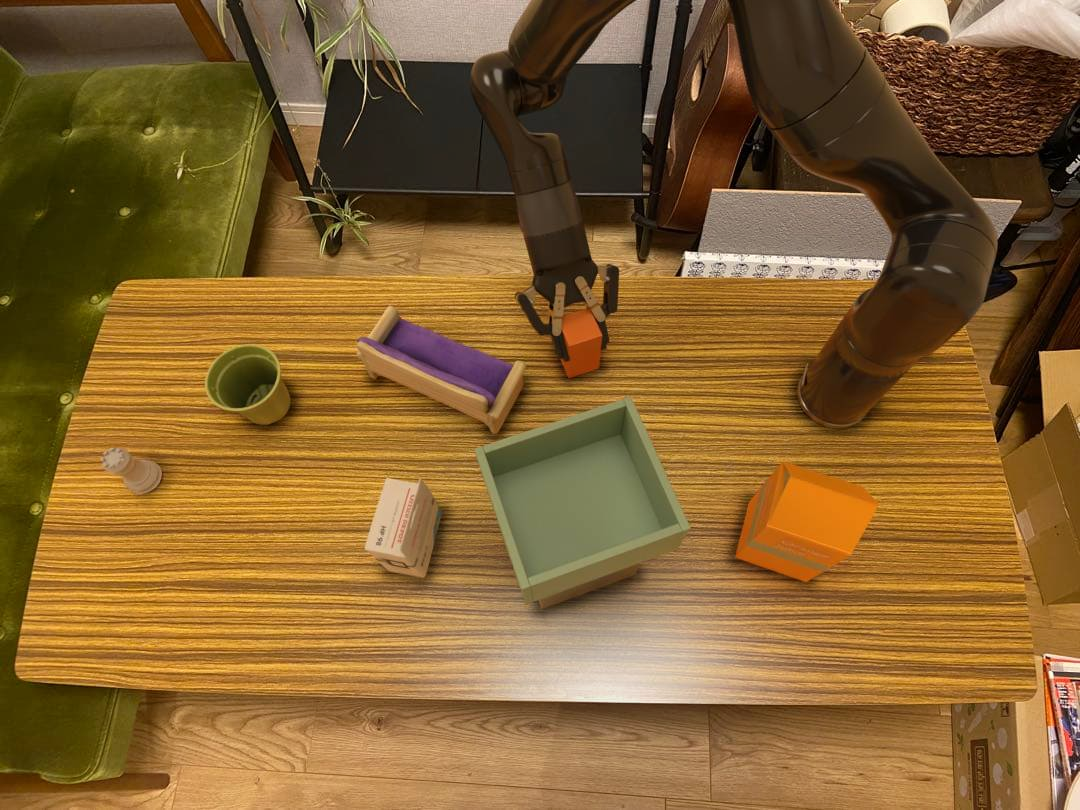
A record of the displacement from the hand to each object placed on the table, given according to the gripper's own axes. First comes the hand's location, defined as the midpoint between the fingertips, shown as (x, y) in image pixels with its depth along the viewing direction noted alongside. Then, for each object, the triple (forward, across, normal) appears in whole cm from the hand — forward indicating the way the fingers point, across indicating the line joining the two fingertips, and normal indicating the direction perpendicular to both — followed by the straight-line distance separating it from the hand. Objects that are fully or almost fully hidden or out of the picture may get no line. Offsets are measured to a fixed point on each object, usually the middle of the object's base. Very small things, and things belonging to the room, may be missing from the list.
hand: (584, 353), depth 92 cm
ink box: (+14, -28, -7) cm, 32 cm away
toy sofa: (0, -18, +7) cm, 19 cm away
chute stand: (+20, -10, -13) cm, 26 cm away
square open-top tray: (+7, -10, -26) cm, 28 cm away
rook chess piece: (0, -59, +7) cm, 60 cm away
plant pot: (-3, -42, +11) cm, 44 cm away
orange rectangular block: (+2, 0, +5) cm, 6 cm away
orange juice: (+25, +14, -18) cm, 34 cm away
